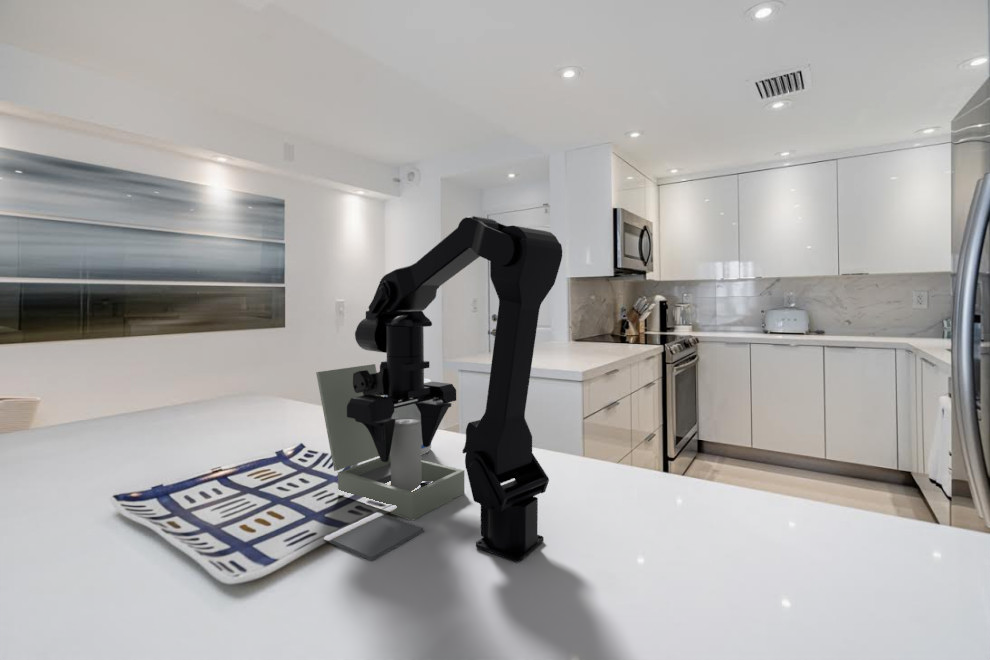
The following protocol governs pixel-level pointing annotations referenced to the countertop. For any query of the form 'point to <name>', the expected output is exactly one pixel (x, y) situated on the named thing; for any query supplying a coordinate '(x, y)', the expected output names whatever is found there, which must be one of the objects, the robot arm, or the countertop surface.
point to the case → (409, 504)
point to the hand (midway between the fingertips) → (406, 453)
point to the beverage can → (406, 454)
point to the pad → (377, 537)
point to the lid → (344, 418)
